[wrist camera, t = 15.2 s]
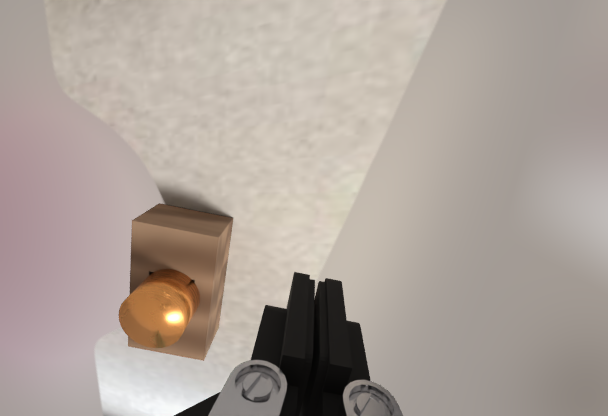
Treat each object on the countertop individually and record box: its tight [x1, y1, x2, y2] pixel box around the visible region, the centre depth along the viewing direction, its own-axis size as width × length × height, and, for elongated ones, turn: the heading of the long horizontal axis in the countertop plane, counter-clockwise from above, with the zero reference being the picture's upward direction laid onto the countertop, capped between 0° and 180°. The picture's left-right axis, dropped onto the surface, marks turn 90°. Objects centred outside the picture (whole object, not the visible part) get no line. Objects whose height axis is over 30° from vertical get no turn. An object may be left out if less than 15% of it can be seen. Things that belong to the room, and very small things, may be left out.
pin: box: [119, 269, 200, 348], centre depth 37 cm, size 6×6×10 cm
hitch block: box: [128, 204, 233, 361], centre depth 39 cm, size 16×9×6 cm, turn 169°
